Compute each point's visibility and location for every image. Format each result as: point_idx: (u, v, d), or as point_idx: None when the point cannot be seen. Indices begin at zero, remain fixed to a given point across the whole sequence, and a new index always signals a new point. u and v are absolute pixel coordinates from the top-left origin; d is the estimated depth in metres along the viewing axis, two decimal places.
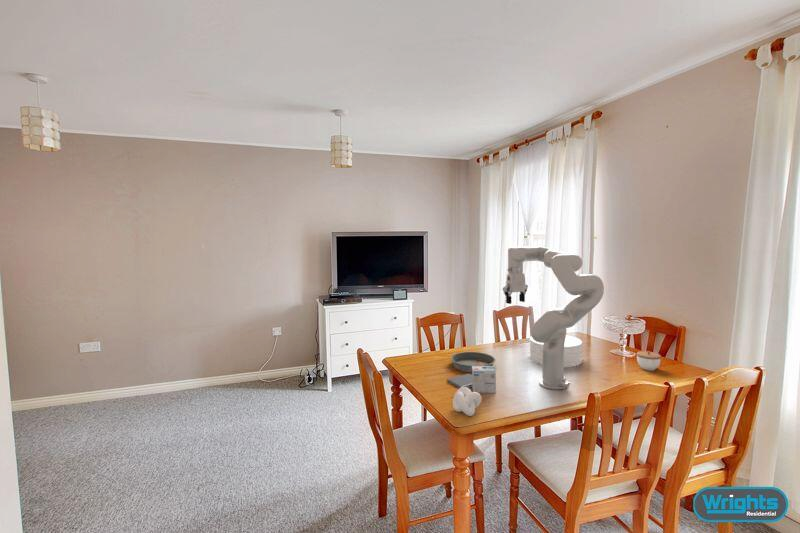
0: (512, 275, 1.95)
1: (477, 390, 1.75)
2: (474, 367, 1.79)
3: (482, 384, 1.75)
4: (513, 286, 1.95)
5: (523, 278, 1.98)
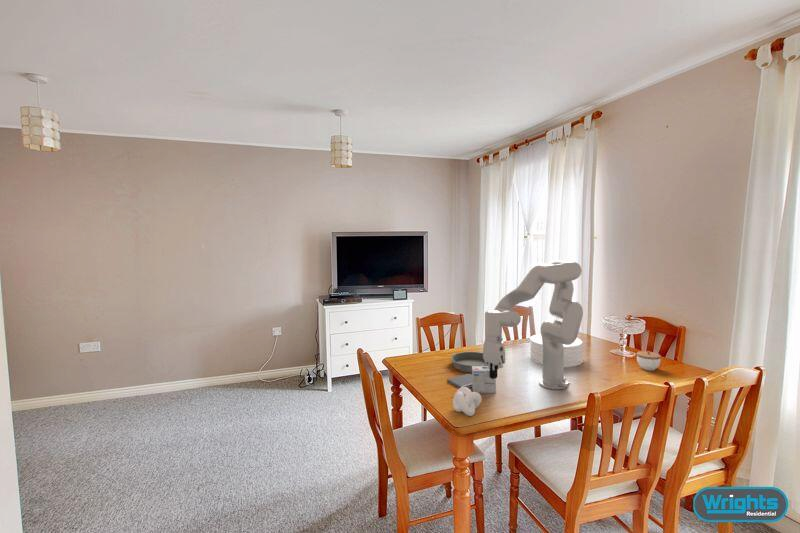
0: (503, 345, 1.68)
1: (477, 390, 1.75)
2: (474, 367, 1.79)
3: (482, 384, 1.75)
4: None
5: None
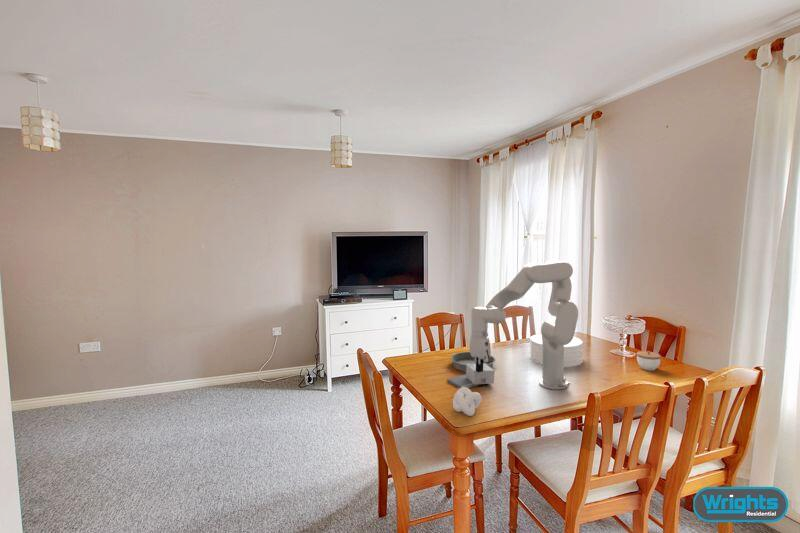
0: None
1: None
2: None
3: None
4: None
5: None
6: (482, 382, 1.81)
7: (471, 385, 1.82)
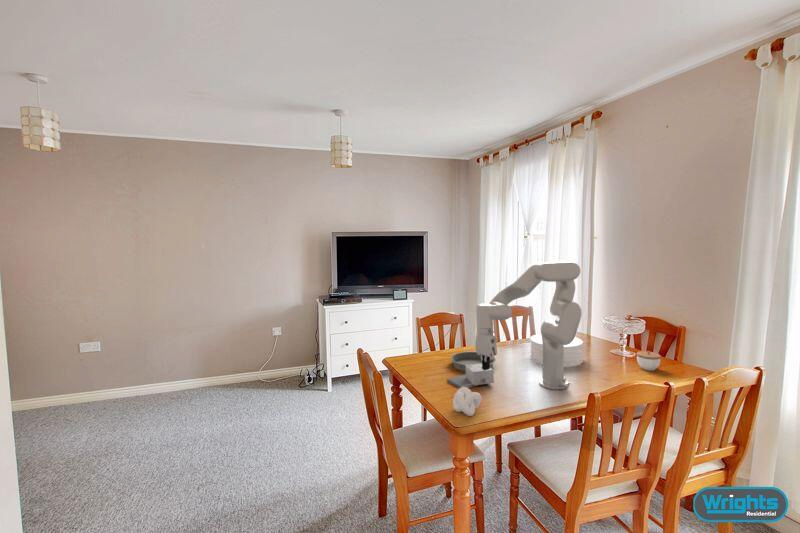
0: None
1: (476, 370, 1.82)
2: None
3: (478, 368, 1.85)
4: None
5: None
6: (482, 382, 1.81)
7: (471, 385, 1.82)
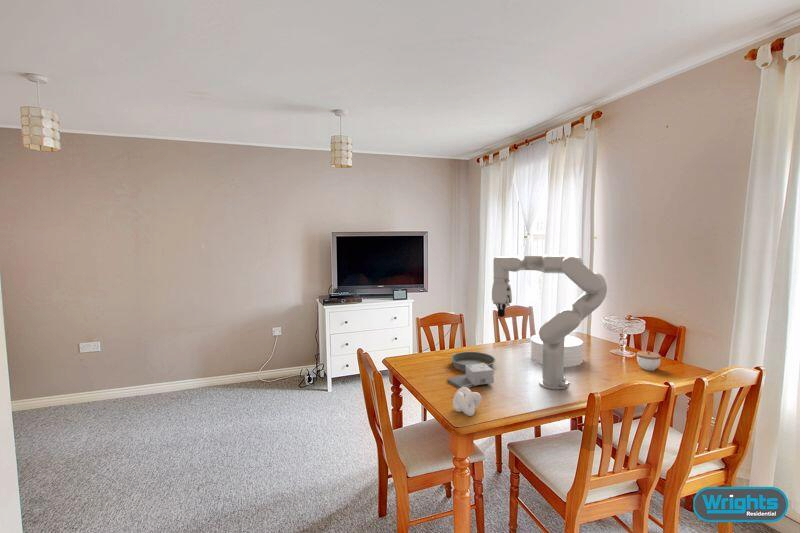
0: (510, 286, 1.89)
1: (476, 370, 1.82)
2: None
3: (478, 368, 1.85)
4: None
5: None
6: (482, 382, 1.81)
7: (471, 385, 1.82)
